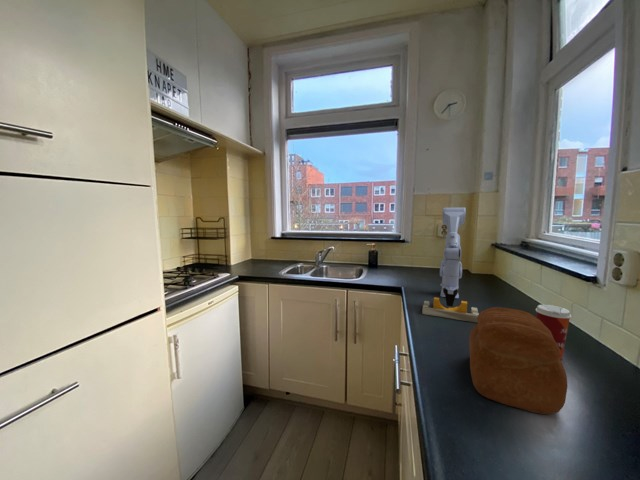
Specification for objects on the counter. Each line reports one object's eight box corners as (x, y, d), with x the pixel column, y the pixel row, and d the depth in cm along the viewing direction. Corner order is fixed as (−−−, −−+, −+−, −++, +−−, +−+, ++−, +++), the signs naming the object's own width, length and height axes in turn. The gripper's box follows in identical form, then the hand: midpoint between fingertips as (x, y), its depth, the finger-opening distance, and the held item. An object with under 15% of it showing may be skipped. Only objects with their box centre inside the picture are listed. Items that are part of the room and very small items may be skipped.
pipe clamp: (465, 315, 104) (466, 300, 104) (466, 319, 101) (467, 303, 100) (433, 310, 110) (434, 296, 109) (433, 314, 106) (433, 299, 105)
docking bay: (424, 306, 115) (424, 300, 114) (476, 313, 106) (476, 307, 106) (422, 313, 106) (422, 308, 106) (479, 322, 97) (479, 316, 97)
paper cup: (570, 365, 70) (575, 315, 68) (534, 357, 74) (538, 310, 72) (562, 352, 76) (567, 306, 75) (529, 345, 80) (533, 302, 79)
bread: (543, 369, 68) (549, 308, 66) (571, 428, 50) (580, 344, 48) (467, 352, 77) (471, 297, 75) (467, 396, 58) (471, 324, 57)
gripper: (441, 270, 118) (440, 299, 120) (440, 277, 105) (438, 309, 107) (458, 272, 115) (457, 301, 117) (459, 279, 102) (458, 312, 104)
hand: (449, 305), depth 112 cm, fingers closed
